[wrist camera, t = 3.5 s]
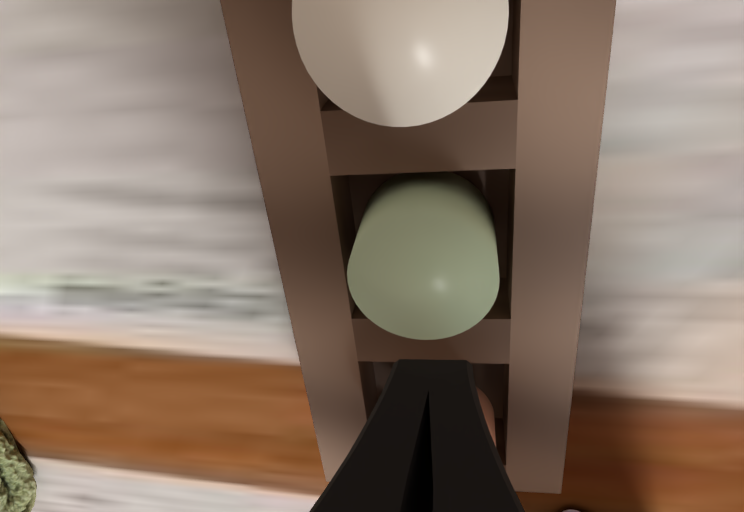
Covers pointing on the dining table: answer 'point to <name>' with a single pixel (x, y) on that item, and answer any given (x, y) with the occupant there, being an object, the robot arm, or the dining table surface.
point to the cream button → (400, 54)
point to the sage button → (425, 256)
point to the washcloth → (14, 476)
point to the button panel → (434, 154)
